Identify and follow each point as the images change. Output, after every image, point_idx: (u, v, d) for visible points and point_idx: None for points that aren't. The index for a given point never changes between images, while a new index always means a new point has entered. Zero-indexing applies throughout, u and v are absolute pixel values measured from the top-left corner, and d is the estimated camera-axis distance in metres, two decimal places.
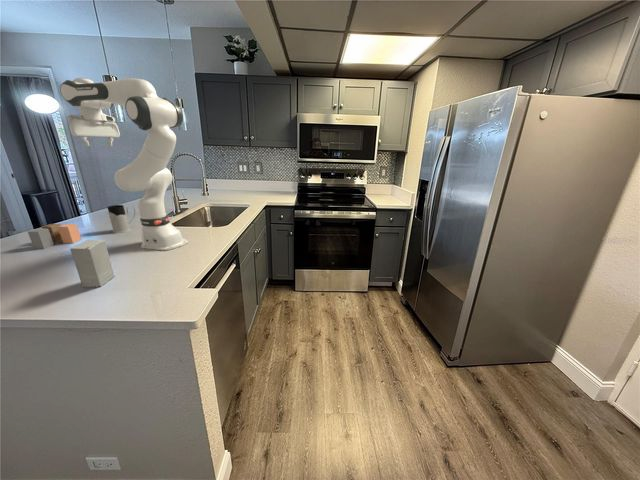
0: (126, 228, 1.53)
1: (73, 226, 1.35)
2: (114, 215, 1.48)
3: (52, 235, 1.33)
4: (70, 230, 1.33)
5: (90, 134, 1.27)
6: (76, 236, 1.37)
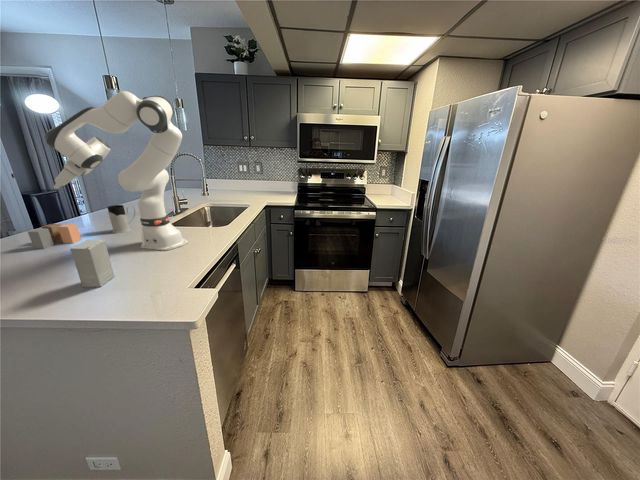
0: (126, 228, 1.53)
1: (73, 226, 1.35)
2: (114, 215, 1.48)
3: (52, 235, 1.33)
4: (70, 230, 1.33)
5: None
6: (76, 236, 1.37)
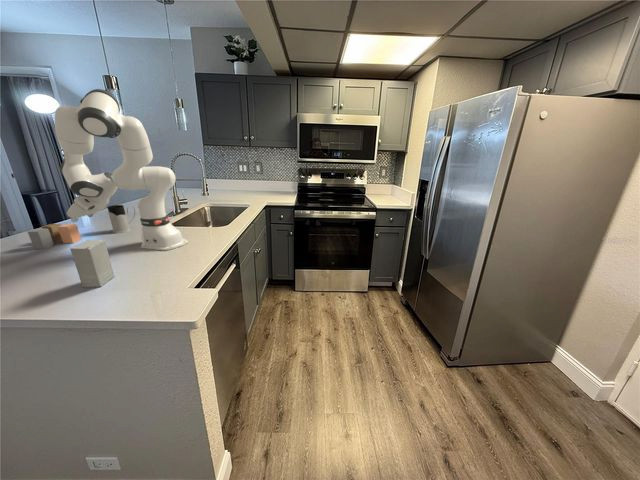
0: (126, 228, 1.53)
1: (73, 226, 1.35)
2: (114, 215, 1.48)
3: (52, 235, 1.33)
4: (70, 230, 1.33)
5: None
6: (76, 236, 1.37)
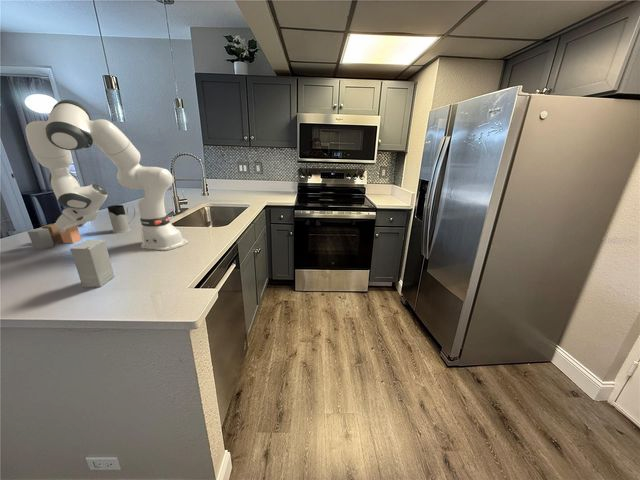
0: (126, 228, 1.53)
1: (73, 226, 1.35)
2: (114, 215, 1.48)
3: (52, 235, 1.33)
4: (70, 230, 1.33)
5: None
6: (76, 236, 1.37)
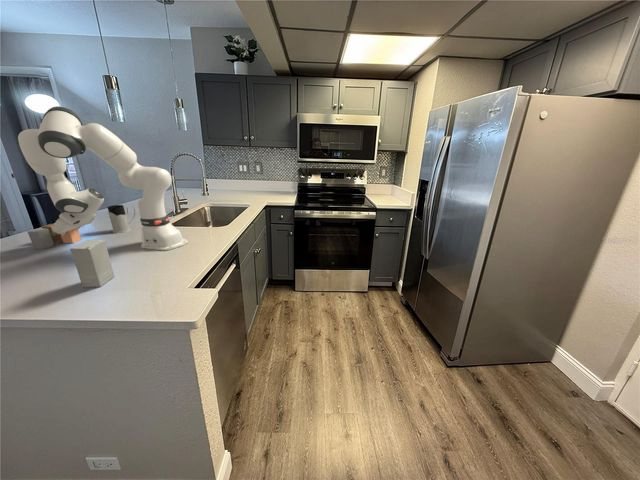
0: (126, 228, 1.53)
1: None
2: (114, 215, 1.48)
3: (52, 235, 1.33)
4: (70, 230, 1.33)
5: None
6: (76, 236, 1.37)
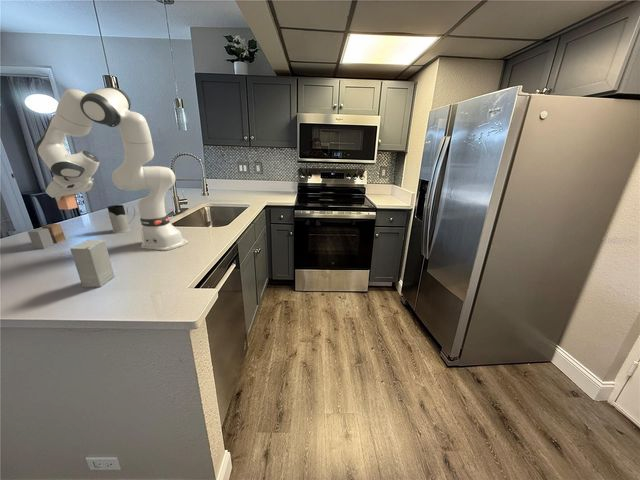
0: (126, 228, 1.53)
1: None
2: (114, 215, 1.48)
3: (52, 235, 1.33)
4: (66, 196, 1.29)
5: None
6: (72, 203, 1.32)
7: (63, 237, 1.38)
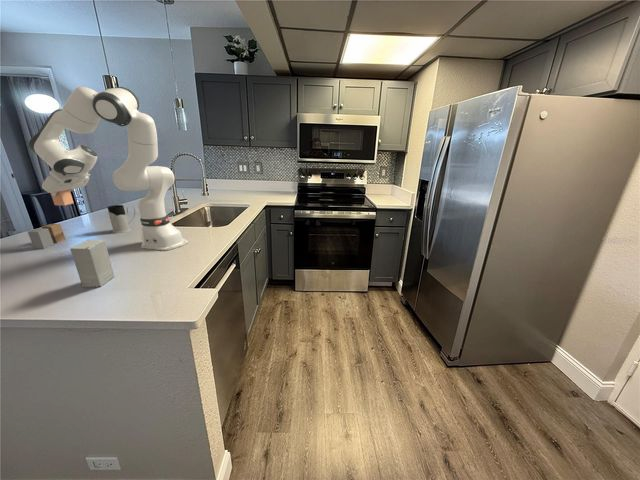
0: (126, 228, 1.53)
1: None
2: (114, 215, 1.48)
3: (52, 235, 1.33)
4: (62, 191, 1.26)
5: None
6: (68, 198, 1.30)
7: (63, 237, 1.38)
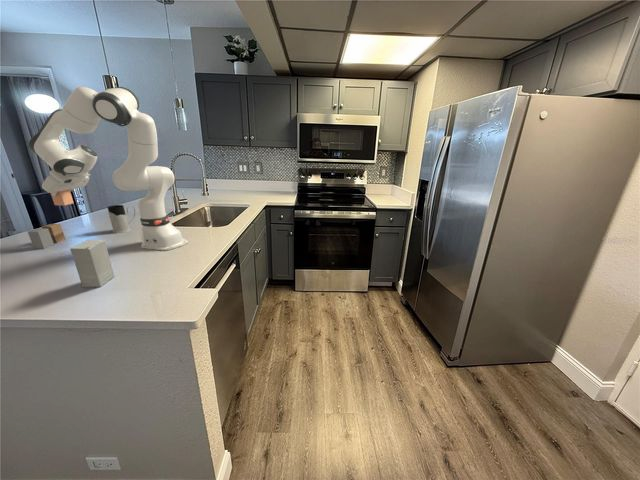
0: (126, 228, 1.53)
1: None
2: (114, 215, 1.48)
3: (52, 235, 1.33)
4: (62, 191, 1.26)
5: None
6: (68, 198, 1.30)
7: (63, 237, 1.38)
